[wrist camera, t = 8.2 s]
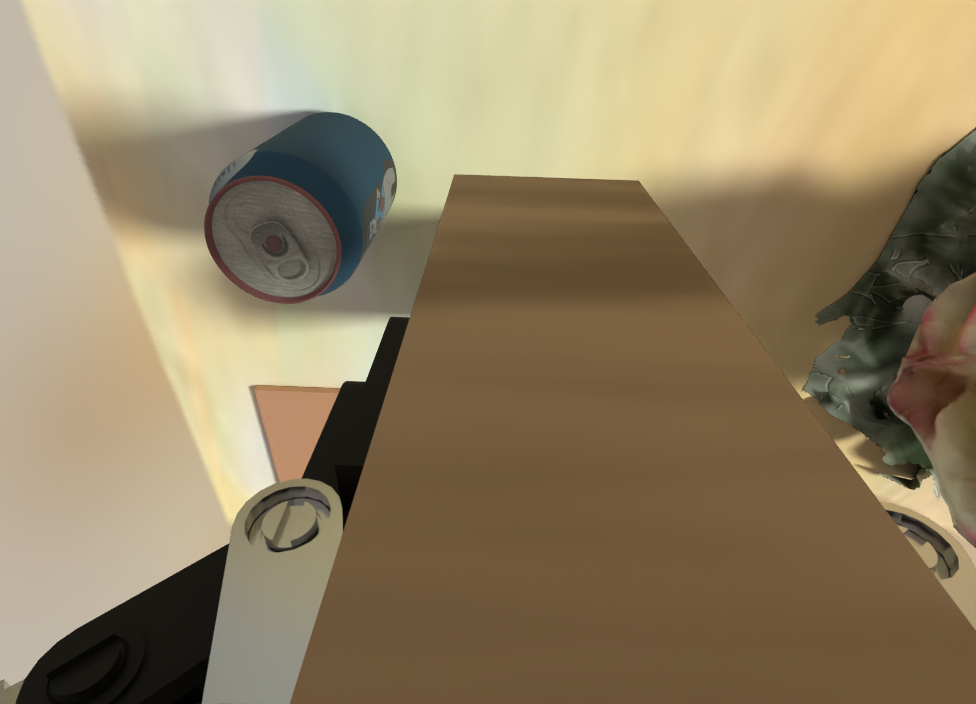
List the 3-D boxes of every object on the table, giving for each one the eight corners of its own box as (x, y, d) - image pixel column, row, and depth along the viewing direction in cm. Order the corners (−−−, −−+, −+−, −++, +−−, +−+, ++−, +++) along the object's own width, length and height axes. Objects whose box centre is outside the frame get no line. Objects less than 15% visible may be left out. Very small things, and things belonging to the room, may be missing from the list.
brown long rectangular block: (454, 174, 15) (124, 1232, 2) (638, 180, 15) (1489, 1314, 2) (455, 332, 17) (318, 1204, 5) (610, 338, 17) (890, 1237, 5)
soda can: (263, 136, 32) (152, 201, 22) (365, 87, 30) (294, 133, 20) (326, 239, 35) (254, 335, 25) (420, 200, 34) (382, 286, 24)
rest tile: (257, 385, 42) (254, 389, 42) (408, 391, 42) (407, 396, 42) (285, 490, 49) (282, 495, 49) (416, 495, 49) (415, 500, 48)
